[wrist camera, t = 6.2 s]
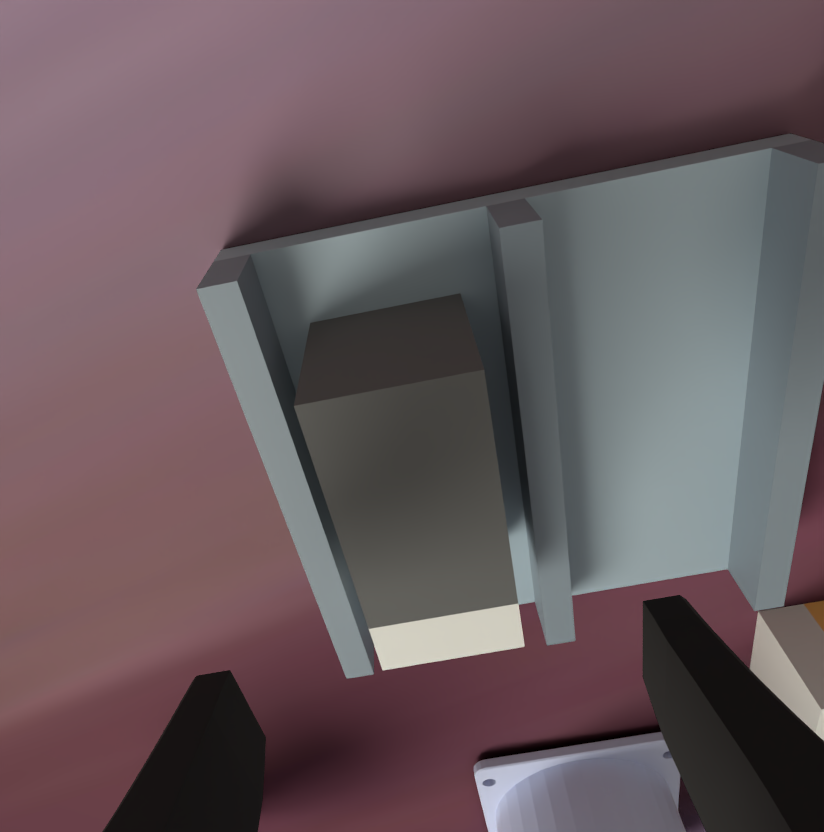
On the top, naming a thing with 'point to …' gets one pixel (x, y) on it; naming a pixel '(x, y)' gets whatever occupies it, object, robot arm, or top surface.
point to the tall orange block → (793, 659)
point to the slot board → (578, 367)
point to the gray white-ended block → (412, 478)
